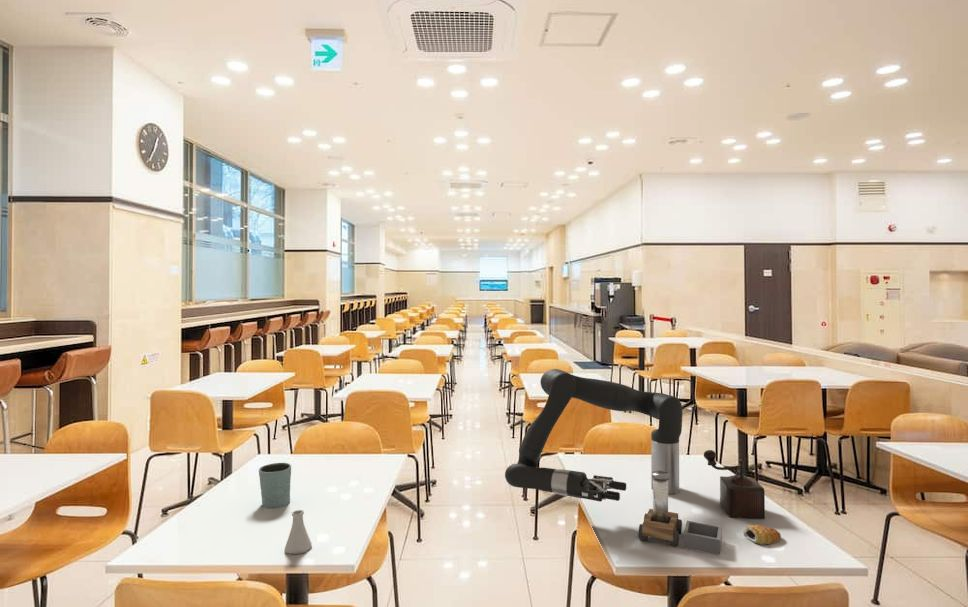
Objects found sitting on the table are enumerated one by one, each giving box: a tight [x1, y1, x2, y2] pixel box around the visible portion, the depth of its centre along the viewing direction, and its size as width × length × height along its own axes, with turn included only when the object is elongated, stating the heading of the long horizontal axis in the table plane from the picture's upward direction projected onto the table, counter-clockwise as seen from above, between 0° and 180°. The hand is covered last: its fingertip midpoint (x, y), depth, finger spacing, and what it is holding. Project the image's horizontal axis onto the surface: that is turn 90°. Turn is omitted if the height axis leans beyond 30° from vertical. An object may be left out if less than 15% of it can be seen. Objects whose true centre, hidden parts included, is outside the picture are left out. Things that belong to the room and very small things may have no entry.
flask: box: [284, 509, 313, 555], centre depth 144 cm, size 7×7×10 cm
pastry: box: [743, 524, 782, 546], centre depth 147 cm, size 9×7×4 cm
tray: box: [682, 520, 723, 556], centre depth 144 cm, size 9×9×4 cm
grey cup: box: [258, 462, 292, 509], centre depth 175 cm, size 10×10×12 cm
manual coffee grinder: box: [703, 449, 766, 520], centre depth 166 cm, size 16×11×18 cm
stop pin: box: [651, 471, 669, 524], centre depth 149 cm, size 5×5×15 cm
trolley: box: [638, 508, 683, 548], centre depth 150 cm, size 14×10×5 cm
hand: (622, 491), depth 154 cm, fingers open, 8 cm apart
